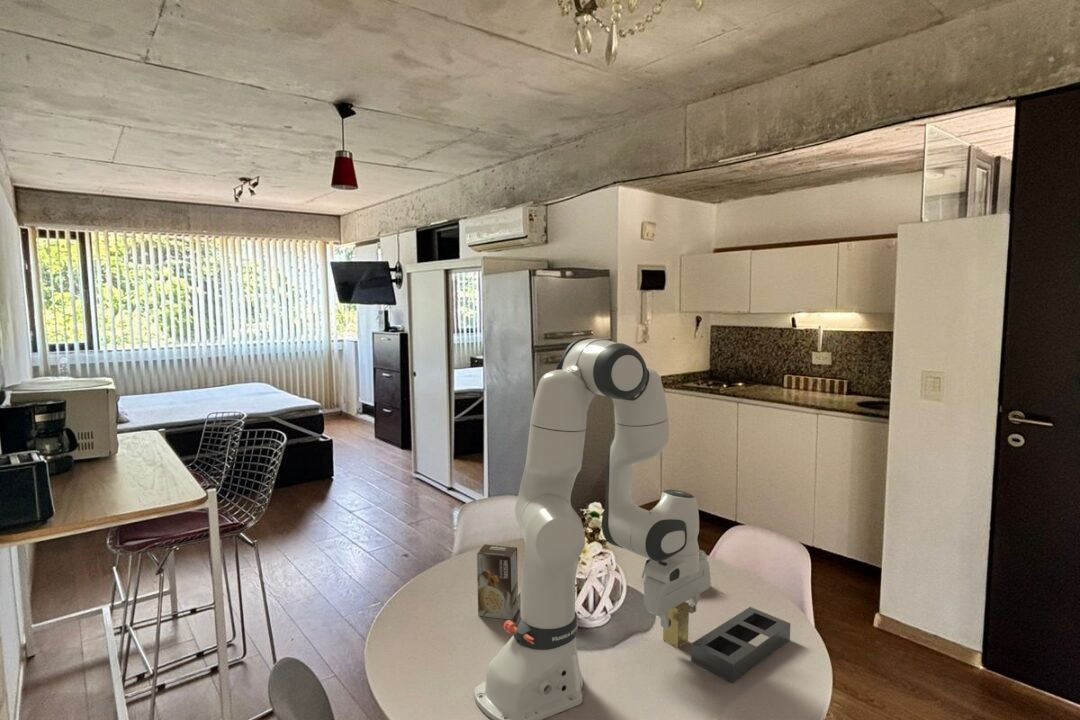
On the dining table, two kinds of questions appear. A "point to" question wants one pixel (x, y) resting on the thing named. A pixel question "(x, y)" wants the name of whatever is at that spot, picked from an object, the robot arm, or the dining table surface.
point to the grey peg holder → (740, 643)
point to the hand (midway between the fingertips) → (679, 619)
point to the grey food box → (497, 581)
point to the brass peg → (677, 625)
